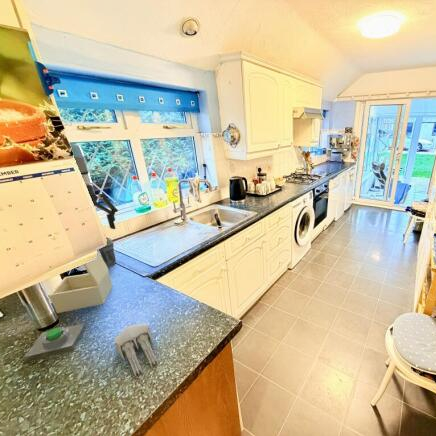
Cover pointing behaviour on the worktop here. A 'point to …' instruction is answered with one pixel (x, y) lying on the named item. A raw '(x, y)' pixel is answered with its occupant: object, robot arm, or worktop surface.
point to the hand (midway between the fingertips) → (95, 234)
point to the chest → (80, 292)
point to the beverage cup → (108, 253)
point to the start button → (53, 333)
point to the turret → (135, 345)
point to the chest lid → (96, 269)
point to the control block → (56, 343)
